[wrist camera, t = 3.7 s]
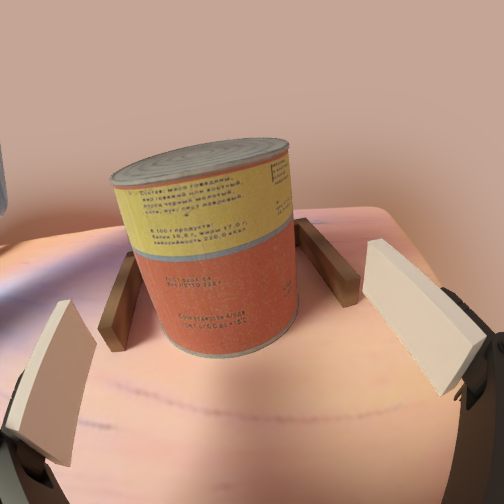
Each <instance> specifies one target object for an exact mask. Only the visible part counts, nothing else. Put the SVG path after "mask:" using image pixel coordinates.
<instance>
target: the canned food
mask: <svg viewBox="0 0 504 504" xmlns="http://www.w3.org/2000/svg"><path fill="white" fill-rule="evenodd" d="M288 148H289V143H288V142H287V141H286V140H283V139H277V138H243V139H233V140H224V141H217V142H210V143H204V144H199V145H194V146H189V147H184V148H180V149H176V150H172V151H168V152H165V153H161V154H158V155H155V156H152V157H149V158H146V159H143V160H140V161H138V162H135V163H133V164H131V165H128V166H126V167H124V168H122V169H120V170H118V171H117V172H115V173H114V174H113V175H112V176H111V177H110V182H111V183H112V184H113V187H114V191H115V194H116V198H117V202H118V205H119V208H120V212H121V215H122V218H123V222H124V225H125V228H126V231H127V235H128V238H129V241H130V244H131V247H132V250H133V252H134V255H135V258H136V261H137V264H138V267H139V269H140V272H141V275H142V277H143V280H144V283H145V285H146V288H147V290H148V293H149V295H150V298H151V300H152V303H153V305H154V307H155V310H156V312H157V315H158V317H159V319H160V321H161V326H162V329H163V331H164V333H165V335H166V337H167V338H168V339H169V340H170V342H171V343H173V344H174V345H175V346H176V347H178V348H179V349H181V350H183V351H185V352H187V353H190V354H192V355H196V356H200V357H206V358H231V357H237V356H241V355H245V354H249V353H252V352H254V351H257V350H259V349H261V348H264V347H265V346H267V345H269V344H271V343H272V342H274V341H275V340H277V339H278V338H279V337H280V336H281V335H283V334H284V333H285V332H286V331H287V329H288V328H289V327H290V326H291V324H292V323H293V321H294V319H295V317H296V314H297V311H298V306H299V300H298V294H297V278H296V255H295V236H294V220H293V205H292V192H291V179H290V168H289V155H288Z"/></svg>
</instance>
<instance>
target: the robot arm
mask: <svg viewBox="0 0 504 504" xmlns="http://www.w3.org/2000/svg"><path fill="white" fill-rule="evenodd" d="M7 204H8V199H7V190H6V182H5V176H4V168H3V161H2V154H1V146H0V218H1V217H2V216H3V215H4V213H5V211H6V209H7ZM362 292H363V293H364V295H365V296H366V297H367V298H368V300H369V301H370V302H371V303H372V305H373V306H374V307H375V308H376V310H377V311H378V312H379V313H380V315H381V316H382V317H383V319H384V320H385V321H386V322H387V324H388V325H389V326H390V328H391V329H392V330H393V332H394V333H395V334H396V336H397V337H398V338H399V340H400V341H401V342H402V344H403V345H404V346H405V348H406V349H407V350H408V352H409V353H410V354H411V356H412V357H413V359H414V360H415V361H416V363H417V364H418V366H419V367H420V368H421V370H422V371H423V373H424V374H425V375H426V377H427V378H428V380H429V381H430V383H431V384H432V386H433V387H434V389H435V390H436V392H437V393H438V394H439V396H440V397H441V396H443V395H444V394H446V393H447V392H449V391H450V390H452V389H453V388H455V386H456V385H457V383H458V382H459V381H460V379H461V378H462V379H463V381H464V382H465V383H464V384H463V385H462V387H461V388H460V389H459V391H458V392H457V393H456V395H455V397H454V401H456V400H457V399H458V397H459V396H460V395H461V393H462V395H461V398H460V400H459V401H461V408H460V418H459V426H458V434H457V440H456V446H455V452H454V457H453V462H452V466H451V471H450V475H449V479H448V483H447V486H446V490H445V493H444V497H443V500H442V503H441V504H504V332H499V333H497V334H495V333H494V332H493V331H492V330H491V329H490V328H489V327H488V326H487V325H486V324H485V323H484V322H483V321H482V320H481V319H480V318H479V317H478V316H477V315H476V314H475V313H474V312H473V311H472V310H471V309H469V307H468V306H467V305H466V304H465V303H463V301H462V300H461V299H460V298H459V297H458V296H457V295H456V294H455V293H453V292H451V291H449V290H447V289H446V288H444V287H442V288H439V287H438V286H437V285H436V284H435V283H434V282H432V281H431V280H430V279H429V278H428V277H427V276H426V275H425V274H424V273H422V272H421V271H420V270H419V269H418V268H417V267H416V266H415V265H413V264H412V263H411V262H410V261H409V260H408V259H406V258H405V257H404V256H403V255H402V254H401V253H399V252H398V251H397V250H396V249H395V248H393V247H392V246H391V245H390V244H388V243H387V242H386V241H385V240H384V239H382V238H380V239H376V240H371V241H368V245H367V256H366V266H365V274H364V283H363V290H362ZM96 345H97V343H96V341H95V340H94V338H93V337H92V335H91V333H90V332H89V330H88V328H87V327H86V325H85V323H84V322H83V320H82V318H81V316H80V315H79V313H78V311H77V309H76V307H75V306H74V304H73V302H72V300H71V299H69V300H63V301H59V302H58V303H57V305H56V307H55V309H54V311H53V312H52V314H51V316H50V318H49V320H48V322H47V324H46V326H45V328H44V330H43V332H42V334H41V336H40V338H39V340H38V342H37V344H36V346H35V348H34V350H33V353H32V355H31V357H30V359H29V362H28V364H27V366H26V369H25V370H24V371H23V373H22V374H21V375H20V377H19V378H18V380H17V383H16V385H15V388H14V389H15V390H14V391H13V393H12V396H11V397H12V399H10V402H9V405H8V408H7V411H6V414H5V417H4V420H3V424H2V427H1V430H0V504H70V503H69V502H68V500H67V498H66V497H65V495H64V493H63V491H62V490H61V488H60V486H59V484H58V482H57V480H56V478H55V476H54V474H53V472H52V470H51V468H50V467H49V466H48V464H46V463H45V458H47V459H49V460H50V461H52V462H53V463H55V464H58V465H62V466H67V467H70V465H71V457H72V450H73V443H74V437H75V431H76V426H77V420H78V415H79V410H80V406H81V401H82V397H83V393H84V388H85V384H86V380H87V377H88V373H89V369H90V365H91V362H92V358H93V355H94V351H95V348H96Z"/></svg>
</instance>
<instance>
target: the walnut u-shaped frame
mask: <svg viewBox="0 0 504 504" xmlns="http://www.w3.org/2000/svg"><path fill="white" fill-rule="evenodd" d="M294 236H295V246H301V248H302V249H303V251H304V252H305V253H306V255H307V256H308V258H309V259H310V260H311V262H312V263H313V265H314V266H315V267H316V269H317V270H318V272H319V273H320V275H321V276H322V277H323V279H324V280H325V282H326V283H327V285H328V286H329V287H330V289H331V290H332V292H333V293H334V295H335V296H336V298H337V299H338V301H339V302H340V303H341V305H342V306H343V308H344V307H347V306H351V305H354V304H357V300H358V293H359V285H360V276H359V275H358V274H357V273H356V272H355V270H354V269H353V268H352V267H351V266H350V265H349V264H348V263H347V261H346V260H345V259H344V258H343V257H342V256H341V255H340V254H339V253H338V252H337V250H336V249H335V248H334V247H333V246H332V245H331V244H330V243H329V242H328V241H327V240H326V239H325V237H324V236H323V235H322V234H321V233H320V232H319V231H318V230H317V229H316V228H315V227H314V226H313V225H312V224H311V223H310V222H309V221H308V220H307V219H306V218H301V219H295V220H294ZM142 278H143V277H142V275H141V272H140V269H139V267H138V264H137V261H136V258H135V255H134V252H133V251H132V252H128V253H127V255H126V257H125V259H124V262H123V264H122V266H121V269H120V271H119V273H118V276H117V278H116V281H115V283H114V286H113V288H112V291H111V293H110V296H109V298H108V301H107V304H106V306H105V309H104V312H103V314H102V317H101V320H100V323H99V326H98V331H99V332H100V334H101V336H102V337H103V339H104V341H105V342H106V344H107V345H108V347H109V348H110V350H111V352H117V351H125V348H126V343H127V339H128V334H129V330H130V325H131V321H132V317H133V312H134V308H135V304H136V301H137V297H138V293H139V289H140V285H141V282H142Z"/></svg>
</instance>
